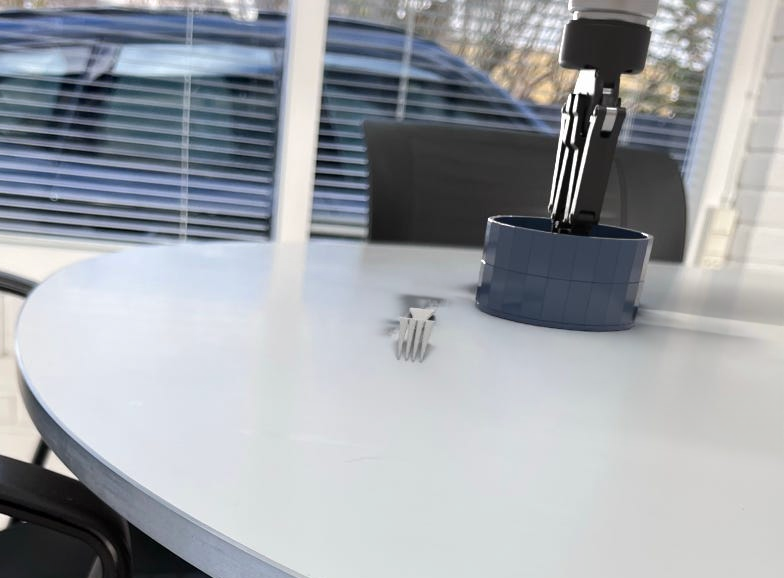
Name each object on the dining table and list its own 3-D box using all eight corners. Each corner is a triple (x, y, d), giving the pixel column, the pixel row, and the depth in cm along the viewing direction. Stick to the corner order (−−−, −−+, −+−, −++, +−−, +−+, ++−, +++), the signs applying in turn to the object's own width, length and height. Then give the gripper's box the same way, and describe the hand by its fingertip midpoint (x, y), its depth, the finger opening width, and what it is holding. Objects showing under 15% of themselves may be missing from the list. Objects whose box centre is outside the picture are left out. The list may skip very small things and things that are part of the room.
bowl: (632, 311, 109) (650, 229, 105) (635, 338, 96) (656, 245, 92) (483, 292, 112) (496, 211, 108) (466, 316, 98) (480, 224, 95)
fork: (434, 340, 99) (438, 309, 98) (428, 362, 79) (433, 324, 78) (404, 336, 99) (408, 305, 98) (391, 358, 80) (395, 320, 79)
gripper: (548, 21, 99) (504, 282, 110) (589, 10, 85) (534, 310, 96) (626, 29, 99) (575, 288, 110) (680, 19, 86) (616, 317, 96)
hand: (556, 298), depth 103 cm, fingers closed on stick, 2 cm apart
